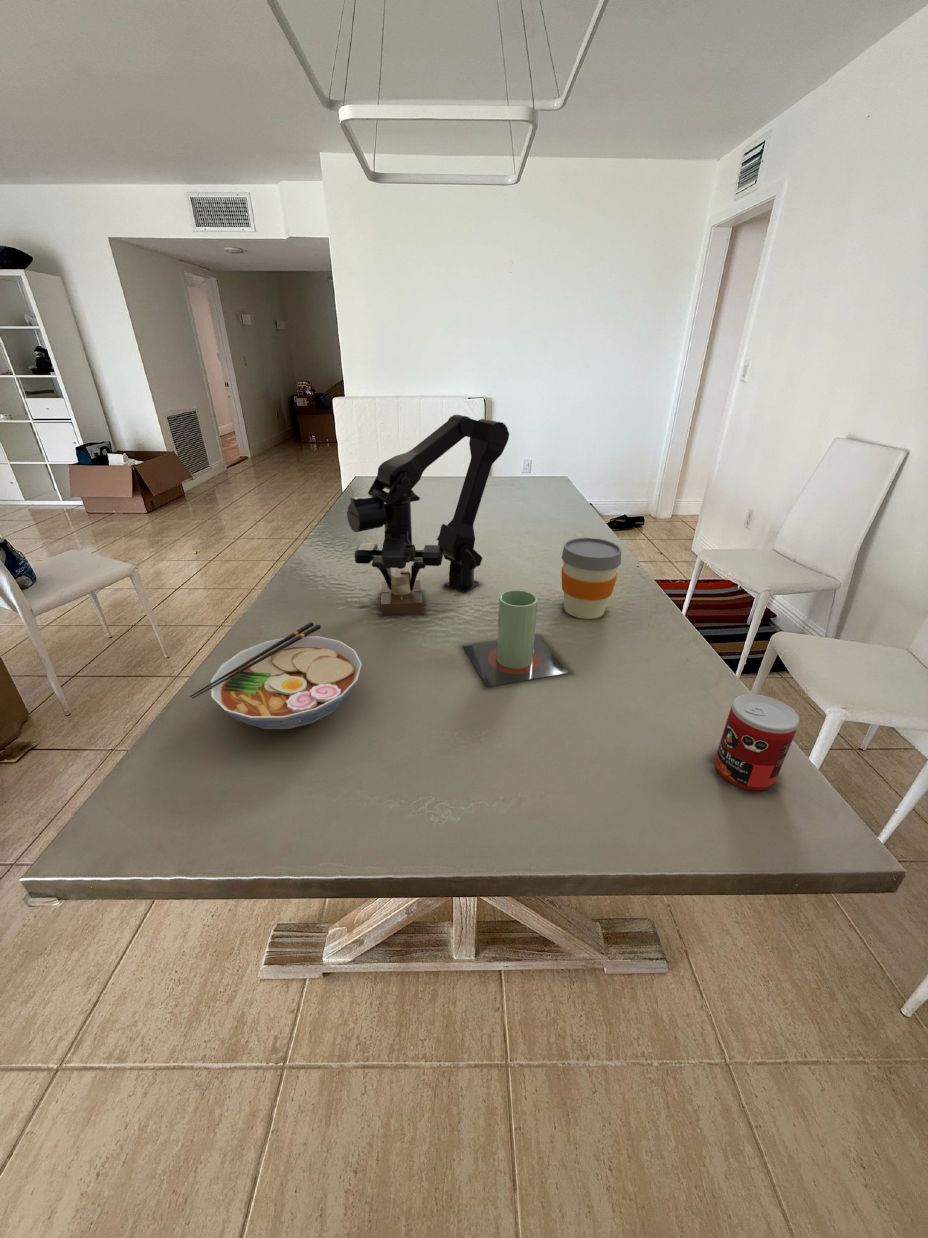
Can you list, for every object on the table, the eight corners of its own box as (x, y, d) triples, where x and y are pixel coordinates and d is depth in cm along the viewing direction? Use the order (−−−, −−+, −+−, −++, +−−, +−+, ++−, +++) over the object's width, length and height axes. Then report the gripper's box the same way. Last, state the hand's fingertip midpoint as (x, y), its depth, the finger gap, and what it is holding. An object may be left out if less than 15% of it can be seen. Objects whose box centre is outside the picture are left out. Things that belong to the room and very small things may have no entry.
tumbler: (500, 647, 103) (503, 587, 97) (534, 652, 101) (540, 592, 95) (492, 665, 97) (495, 603, 91) (528, 671, 96) (534, 608, 89)
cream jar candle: (390, 595, 117) (388, 575, 114) (393, 586, 120) (392, 567, 118) (409, 595, 116) (408, 576, 114) (412, 587, 120) (411, 568, 118)
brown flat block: (382, 592, 125) (381, 580, 123) (420, 591, 126) (419, 579, 124) (381, 616, 114) (380, 603, 113) (422, 614, 115) (422, 601, 114)
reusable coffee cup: (614, 602, 122) (624, 541, 114) (609, 626, 111) (620, 561, 104) (561, 594, 125) (567, 534, 118) (551, 617, 115) (558, 553, 108)
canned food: (703, 754, 77) (722, 694, 72) (754, 751, 78) (776, 692, 73) (731, 794, 71) (753, 731, 65) (786, 790, 71) (813, 728, 66)
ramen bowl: (282, 785, 71) (272, 739, 67) (182, 726, 81) (168, 683, 78) (397, 693, 90) (394, 653, 86) (303, 654, 100) (297, 617, 96)
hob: (463, 647, 103) (463, 646, 103) (537, 636, 107) (537, 635, 107) (486, 687, 91) (486, 686, 91) (568, 673, 96) (568, 672, 96)
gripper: (345, 534, 104) (352, 603, 111) (437, 537, 103) (438, 607, 111) (357, 517, 114) (363, 582, 121) (442, 519, 113) (443, 585, 121)
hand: (401, 589), depth 118 cm, fingers closed on cream jar candle, 4 cm apart
